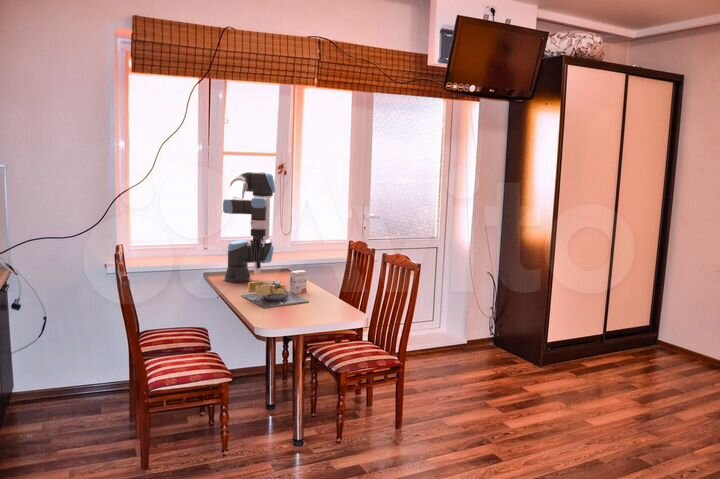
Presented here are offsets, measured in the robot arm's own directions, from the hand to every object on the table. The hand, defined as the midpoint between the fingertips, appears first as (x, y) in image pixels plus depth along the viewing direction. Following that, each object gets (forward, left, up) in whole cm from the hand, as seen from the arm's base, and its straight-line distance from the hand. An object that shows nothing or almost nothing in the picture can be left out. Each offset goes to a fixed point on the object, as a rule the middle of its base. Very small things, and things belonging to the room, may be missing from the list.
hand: (257, 274), depth 298 cm
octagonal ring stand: (0, +7, -10) cm, 12 cm away
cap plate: (0, +11, -15) cm, 18 cm away
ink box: (-9, +30, -15) cm, 34 cm away
